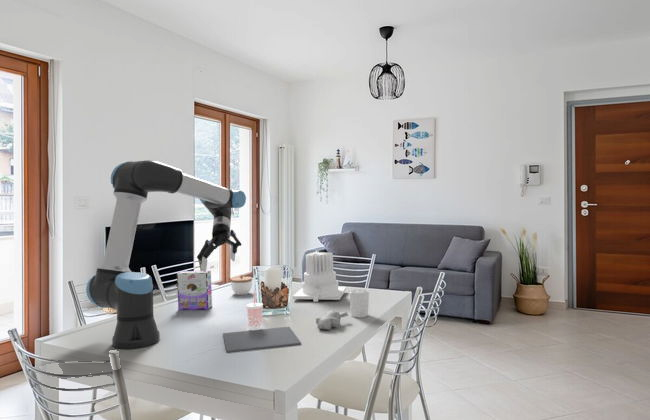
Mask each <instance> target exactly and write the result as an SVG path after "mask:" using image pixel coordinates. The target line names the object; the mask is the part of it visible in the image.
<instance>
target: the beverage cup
mask: <svg viewBox="0 0 650 420" xmlns="http://www.w3.org/2000/svg"><path fill="white" fill-rule="evenodd" d="M263 307H264V303H262V302H256V290H253V302H251V303H247V304H246V309H247V321H248V329H249V330H248V331H250V330H260V329H263V327H262V326H263V325H262V324H263Z"/></svg>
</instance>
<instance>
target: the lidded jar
mask: <svg viewBox="0 0 650 420" xmlns="http://www.w3.org/2000/svg"><path fill="white" fill-rule="evenodd" d="M230 284H231V285H230V287H231V290H232V291H233V293H234V294H235V295H238V296H245V295H248V294H249V293H250V292H251V289H252V287H253V277H252V276H243V275H242V274H240V276H235V277H232V278H230ZM244 294H245V295H244Z"/></svg>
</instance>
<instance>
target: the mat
mask: <svg viewBox="0 0 650 420" xmlns="http://www.w3.org/2000/svg"><path fill="white" fill-rule="evenodd" d="M222 337H223V342H224V346H225V351H226V353H227V354H228V353H236V352H244V351H245V352H246V351H252V350H263V349H272V348H273V349H274V348H279V347H281V348H282V347H290V346H291V347H292V346H298V345H302V342H301V340H300V339H299V338H298V336H297V335H296V334H295V332H294V331H293V330H292V329H291V327H290V326H283V327H273V328H261V329H260V330H243V331H232V332H231V331H230V332H223V333H222Z"/></svg>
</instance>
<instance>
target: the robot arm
mask: <svg viewBox="0 0 650 420" xmlns="http://www.w3.org/2000/svg"><path fill="white" fill-rule="evenodd" d="M110 184H111V185H112V188H113V194H112V195H114V197H115V199H116V202H115V206H114V210H113V216H112V219H111V224H110V230H109V233H108V237H107V238H108V239H107V243H106V248H105V253H104V257H103V261H102V263H101V264H100V265H99V266H98V267H97V268H96V272H95V274H94V275H93V276H92V277H91V278H90V279H89V280H88V282H87V284H86V286H85V287H86V289H85V290H86V291H85V292H86V296H87V298H88V300H89V302H90V303H92V304H93V305H95V306H96V307H97V306H98V307H100V308H103V309H107V308H108V309H112V310H116V326H115V329H114V333H113V336H112V339H111V341H112V342H111V344H112V347H113V348H116V349H123V350H129V349H131V348H132V349H139V348H144V347H149V346H152V345H154V344H156V343H158V342H159V341H160V340H161V339H160V338H161V335H160V331H159V330H158V326H157V323H156V320H155V318H154V317H155V315H154V289H153V288H154V285H153V279H152V276H151V275H149V274H148V273H145V272H138V271H137V272H135V271H132V270H131V269H130V267H129V265H130V261H131V260H130V259H131V255H132V251H133V246H134V243H135V242H134V240H135V235H136V231H137V226H138V221H139V217H140V216H139V215H140V212H141V207H142V203H144V202H146V201H147V198H148V193H151V192H152V193H153V192H154V193H155V192H160V193H162V192H163V193H168V194H172V195H173V194H175V193H177V194H181V195H186V196H189V197H192V198H195V199H198V200H199V201H200V202H201V204H202V205H203V206H204V207H205V208H206V209H207V210H208V212H209V213H210V214H211V215H212V216H213V223H212V231H211V236H212V237H211V240H208V239H206V240H205V241H204V245H202V248H201V250H200V251H199V253H198V254H197V256H196V258H197V259H198V261H199V262H200V270H201V271H204V273H205V272H206V271H207V267H208V258H209V257H210V256H211V255H212V253H213V252H214V251H215V250H217V248H218V247H220V246H222V245H225V244H227V245H229V246H230V247H229V258H230V260H231V261H232V262H235V261H236V254H237V252H238V247H241V246H242V245H243V244H242V243H241V241H240V240H239V238H238V236H237V235H236V232H235V231H234V230H233V229H231V219H232V213H233V211H232V209H239V208H240V209H241V208H242V207H244V206H245V205H246V202H247V201H246V200H247V197H246V194H245V192H244V191H242V190H240V189H239V190H238V189H234V190H232V189H230V188H227V187H223V186H220V185H219V184H214V183H213V182H210V181H206V180H203V179H200V178H198V177H195V176H192V175H189V174H186V173H183V170H181V169H180V168H177V167H174V166H171V165H168V164H166V163H163V162H160V161H155V160H150V159H148V160H139V161H126V162H123V163H120V164H117V166H115V168H114V169H113V170H112V172H111V175H110ZM230 237H231V238H232V239H233V240H234V241H232V240H231V239H230Z"/></svg>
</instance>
